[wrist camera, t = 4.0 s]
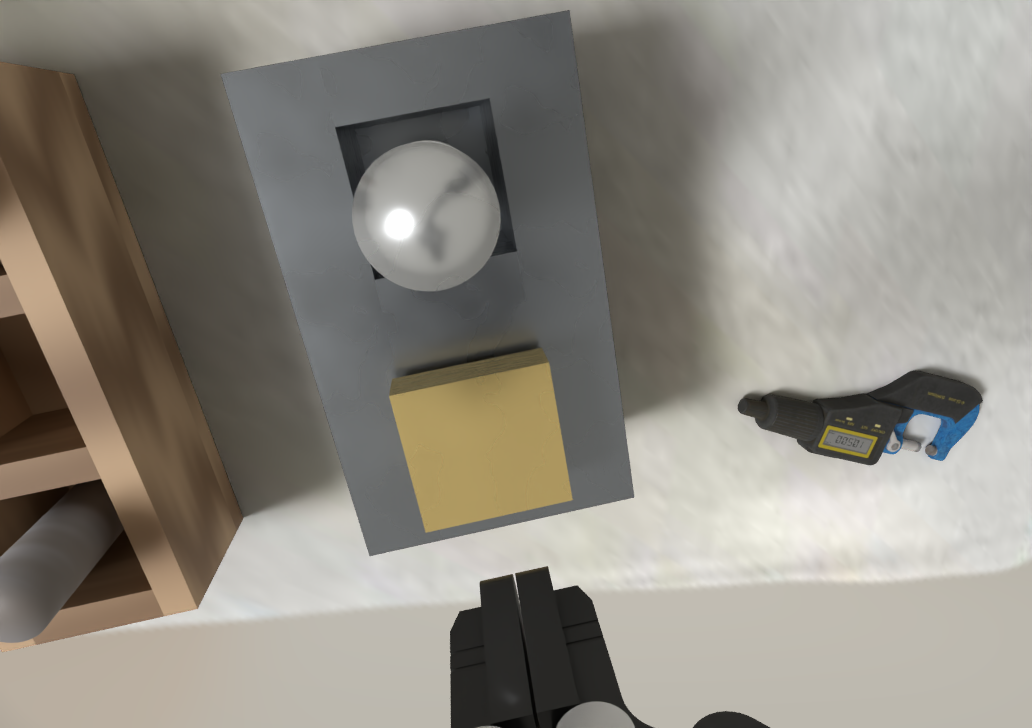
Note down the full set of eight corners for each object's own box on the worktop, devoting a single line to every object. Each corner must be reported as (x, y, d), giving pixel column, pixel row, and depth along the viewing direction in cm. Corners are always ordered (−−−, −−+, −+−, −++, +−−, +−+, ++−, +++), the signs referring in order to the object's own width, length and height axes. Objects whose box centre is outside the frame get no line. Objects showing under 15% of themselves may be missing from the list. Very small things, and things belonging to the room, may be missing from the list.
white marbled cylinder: (462, 132, 24) (485, 128, 13) (478, 213, 25) (512, 276, 14) (382, 147, 24) (334, 157, 13) (401, 228, 25) (373, 304, 14)
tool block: (271, 88, 24) (220, 74, 18) (538, 39, 24) (569, 10, 19) (382, 475, 29) (369, 556, 24) (597, 429, 30) (634, 497, 24)
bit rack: (-131, 111, 23) (-470, 95, 14) (73, 74, 23) (-138, 37, 14) (86, 552, 29) (-58, 723, 20) (243, 518, 29) (165, 672, 21)
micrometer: (1002, 396, 30) (952, 488, 32) (970, 382, 32) (924, 469, 34) (784, 337, 28) (740, 440, 29) (762, 325, 30) (722, 423, 31)
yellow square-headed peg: (400, 335, 26) (388, 396, 20) (522, 309, 26) (549, 362, 20) (428, 445, 28) (425, 532, 21) (542, 420, 28) (572, 500, 22)
